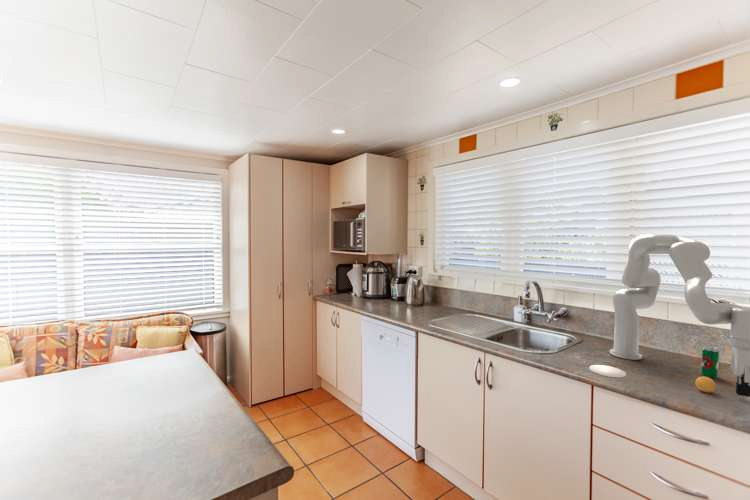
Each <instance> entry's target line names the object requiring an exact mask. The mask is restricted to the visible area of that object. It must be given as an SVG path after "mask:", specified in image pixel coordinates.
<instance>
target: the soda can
mask: <svg viewBox="0 0 750 500" xmlns="http://www.w3.org/2000/svg"><path fill="white" fill-rule="evenodd" d="M719 360H720V350H719V348H718V347H716V346H713V345H703V347H702V348H701V362H700V374H701V376H705V377H709V378H711V379H717V378H718V377H719V365H720V364H719V362H720V361H719Z"/></svg>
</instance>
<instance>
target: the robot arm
mask: <svg viewBox="0 0 750 500" xmlns="http://www.w3.org/2000/svg"><path fill="white" fill-rule="evenodd" d="M650 255H669V257H670V259H671V261H672V262H673V264H674V266H675V268H676V269H677V270H678V273H679V274H680V276H681V277H682V279H683V281H684V283H685V284H684V299H685V301H686V302H685V303H686V304H687V306H688V307H689V309H690V311H691V313H692V314H693V315H694V317H695V318H696V319H697V320H698V321H699V322H701V323H702V324H705V325H729V324H730V336H729V337H730V338H729V346H730V347H732V352H731V358H730V359H731V362H730V370H731V372H732V373H733V375H734V376H735V377H736V385H735V390H736V391H735V392H736V394H737V395H738V396H743V397H747V398H750V307H744V306H740V305H737V304H733V303H729V302H728V303H727V302H717V303H715V302H712V301H711V300H710V299H709V296H708V295H707V293H706V292H707V291H706V284H707V282H708V281H710V280H711V279H712V278H713V272H712V271H711V269H710V268H709V266H708V265H707V264H706V261H707V260H708V259H709V258H710V256H711V250H710V248H709V246H708V245H706V244H705V243H703V242H702V241H698V240H694V239H690V238H686V237H683V236H679V235H676V234H643V235H639V236H635V238H632V240H631V242H630V243H629V245H628V253H627V258H626V262H625V265H624V268H623V273H622V276H621V281H622V282H621V283H622V284H623V286H624V287H627V289H626V288H625V289H624V288H623V289H619V290H618V291H616V292H614V294H613V296H612V302H613V310H614V326H613V329H614V330H613V331H614V332H613V348H611V349H609V354H610V355H612V356H614V357H617V358H621V359H625V360H631V361H633V360H634V361H635V360H637V361H638V360H642V359H643V355H642V354H641V353H639V346H640V345H639V341H640V317H639V314H638V312H637V310H644V309H649V308H651V307H652V306H653V305H654V303H655V301H656V298H657V295H658V293H659V288H660V285H661V275H660V273H659V271H658V270H656V269H655V268H653V267H650V264H651V257H650Z"/></svg>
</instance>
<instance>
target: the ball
mask: <svg viewBox="0 0 750 500" xmlns="http://www.w3.org/2000/svg"><path fill="white" fill-rule="evenodd" d="M695 386H696V387H697V389H699V390H700V391H701V392H704V393H713V392H714V391H715V390H716V389H717V384H716V382H715V381H714V380H713V378H709V377H705V376H703V375H701V376H698V377H697V378H696V379H695Z"/></svg>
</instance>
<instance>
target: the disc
mask: <svg viewBox="0 0 750 500" xmlns="http://www.w3.org/2000/svg"><path fill="white" fill-rule="evenodd" d="M588 369H589V370H590V371H591V372H593V373H595V374H597V375H600V376H602V377H603V376H604V377H609V378H615V379H617V378H618V379H619V378H620V379H621V378H625V377H626V376H627V373H626V372H625V371H624V370H622V369H620V368H618V367H614V366H610V365H605V364H593V365H590V366H589V368H588Z"/></svg>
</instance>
